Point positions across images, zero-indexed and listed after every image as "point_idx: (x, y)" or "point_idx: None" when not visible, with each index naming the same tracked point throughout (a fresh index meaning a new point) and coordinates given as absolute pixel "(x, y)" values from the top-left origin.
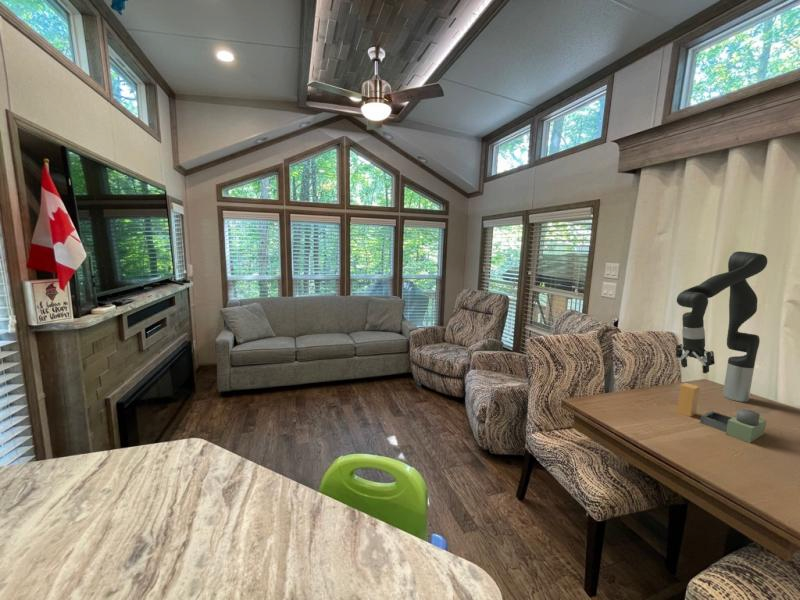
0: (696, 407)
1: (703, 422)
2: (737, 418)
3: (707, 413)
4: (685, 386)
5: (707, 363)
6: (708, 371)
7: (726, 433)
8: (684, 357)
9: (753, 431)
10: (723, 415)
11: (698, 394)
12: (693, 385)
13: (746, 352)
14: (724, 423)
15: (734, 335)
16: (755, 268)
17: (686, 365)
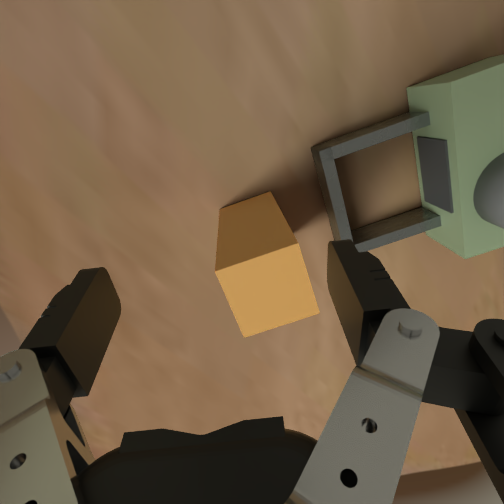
0: (275, 201)
1: None
2: (491, 223)
3: (334, 205)
4: (271, 327)
5: (459, 413)
6: (372, 263)
7: (429, 234)
8: (92, 454)
9: None
10: (369, 142)
11: (287, 224)
12: (268, 265)
13: None
14: (422, 224)
15: None
16: None
17: (100, 283)
